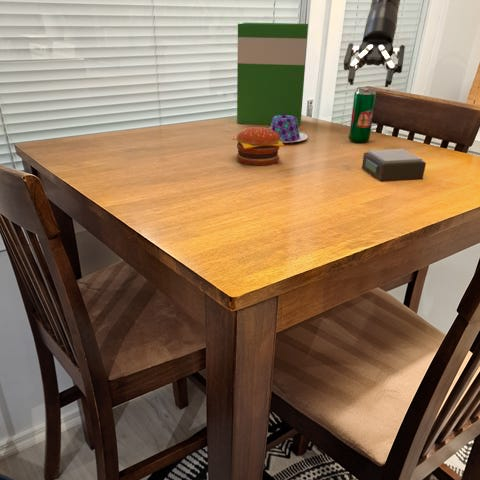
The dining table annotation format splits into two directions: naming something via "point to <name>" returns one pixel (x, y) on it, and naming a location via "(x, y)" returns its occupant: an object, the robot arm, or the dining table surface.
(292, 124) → the pudding
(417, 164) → the scale
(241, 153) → the hamburger
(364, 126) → the soda can
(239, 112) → the hardback book
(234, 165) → the dining table surface
